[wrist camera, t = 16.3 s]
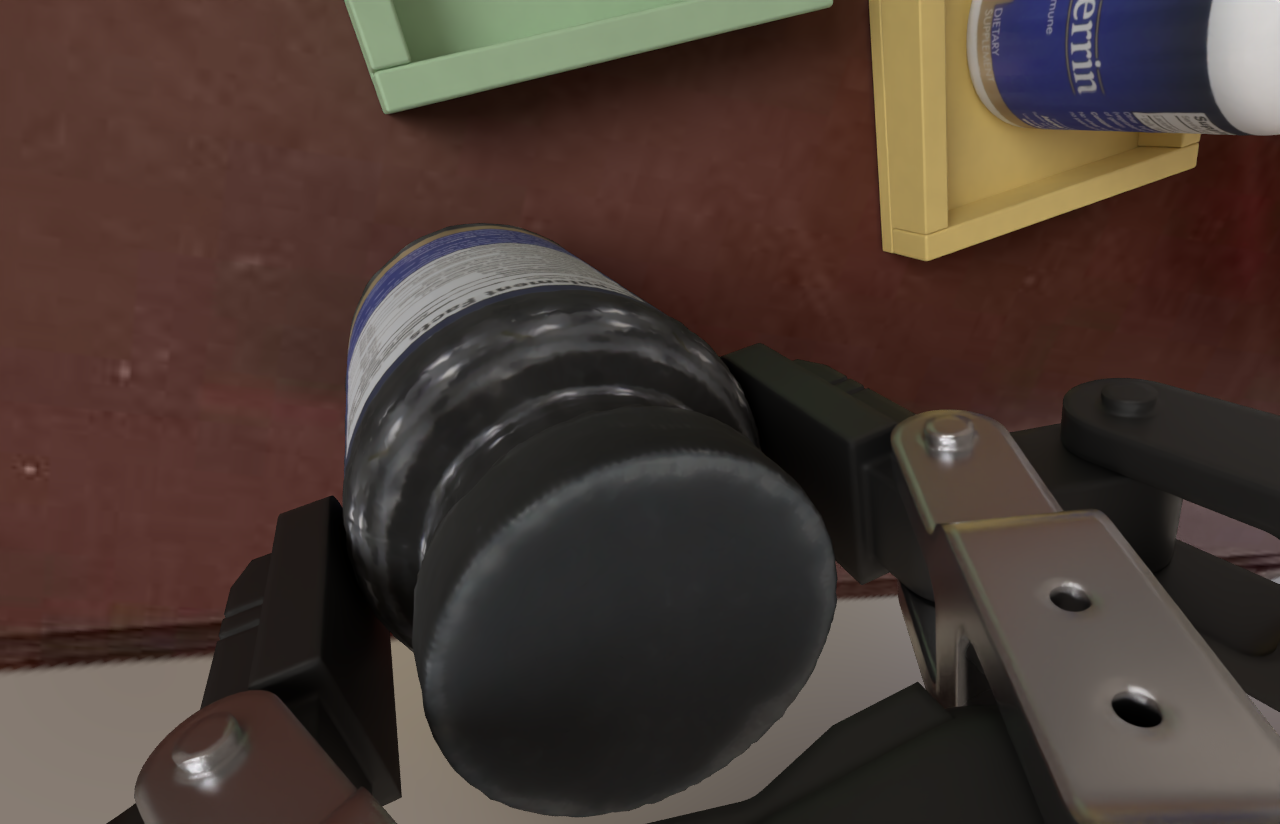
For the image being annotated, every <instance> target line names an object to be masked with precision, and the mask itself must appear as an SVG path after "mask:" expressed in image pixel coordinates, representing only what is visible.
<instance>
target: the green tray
mask: <svg viewBox="0 0 1280 824" xmlns="http://www.w3.org/2000/svg"><path fill="white" fill-rule="evenodd" d="M344 2H345V5H346V7H347V10H348V13H349V16H350V19H351V22H352V24H353V27H354V30H355V33H356V36H357V39H358V41H359V44H360V47H361V50H362V53H363V56H364V59H365V61H366V64H367V67H368V70H369V73H370V76H371V78H372V81H373V84H374V87H375V90H376V93H377V96H378V98H379V101H380V104H381V107H382V110H383V112H384V113H385V114H392V113H396V112H401V111H405V110H409V109H413V108H417V107H421V106H425V105H429V104H434V103H438V102H442V101H446V100H450V99H454V98H458V97H462V96H467V95H471V94H475V93H479V92H483V91H487V90H491V89H495V88H499V87H504V86H508V85H512V84H516V83H520V82H524V81H528V80H532V79H537V78H541V77H545V76H549V75H553V74H557V73H561V72H565V71H570V70H574V69H578V68H582V67H586V66H590V65H594V64H598V63H603V62H607V61H611V60H615V59H619V58H623V57H627V56H631V55H635V54H640V53H644V52H648V51H652V50H656V49H660V48H664V47H668V46H673V45H677V44H681V43H685V42H689V41H693V40H697V39H701V38H706V37H710V36H714V35H718V34H722V33H726V32H730V31H734V30H738V29H743V28H747V27H751V26H755V25H759V24H763V23H767V22H771V21H776V20H780V19H784V18H788V17H792V16H796V15H800V14H804V13H809V12H813V11H817V10H821V9H825V8H829V7H830V6H832V5H833V0H344Z"/></svg>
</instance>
